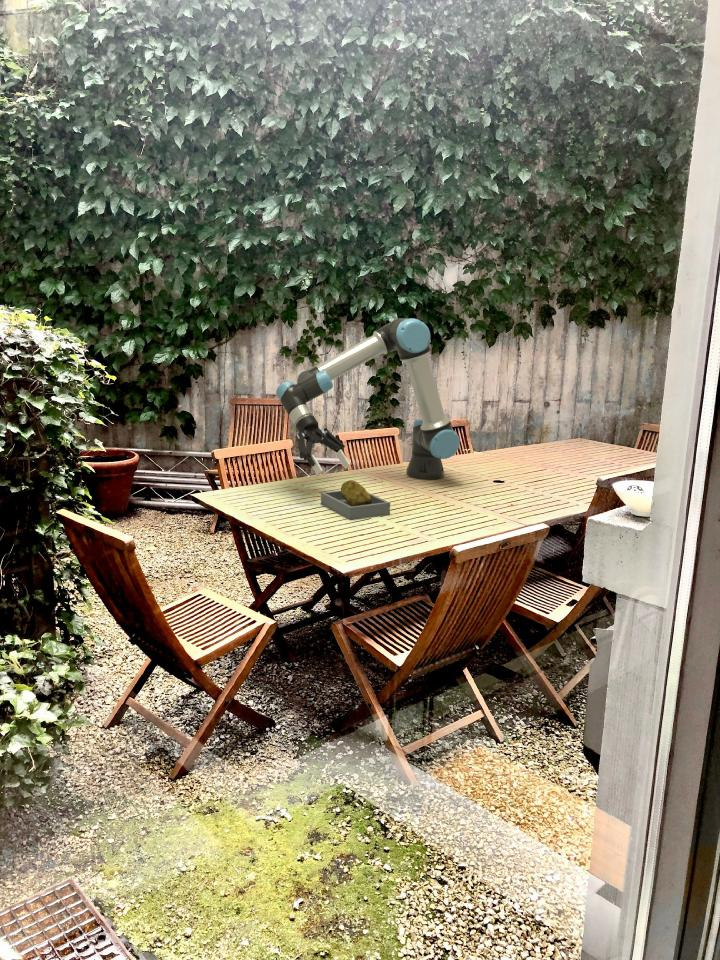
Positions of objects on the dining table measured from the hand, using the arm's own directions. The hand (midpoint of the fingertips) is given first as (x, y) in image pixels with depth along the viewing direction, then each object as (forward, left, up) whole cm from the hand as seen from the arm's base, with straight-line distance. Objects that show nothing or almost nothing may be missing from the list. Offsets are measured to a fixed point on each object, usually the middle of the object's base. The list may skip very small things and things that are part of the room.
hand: (334, 469), depth 242 cm
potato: (+12, +2, -10) cm, 16 cm away
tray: (+12, +2, -11) cm, 16 cm away
